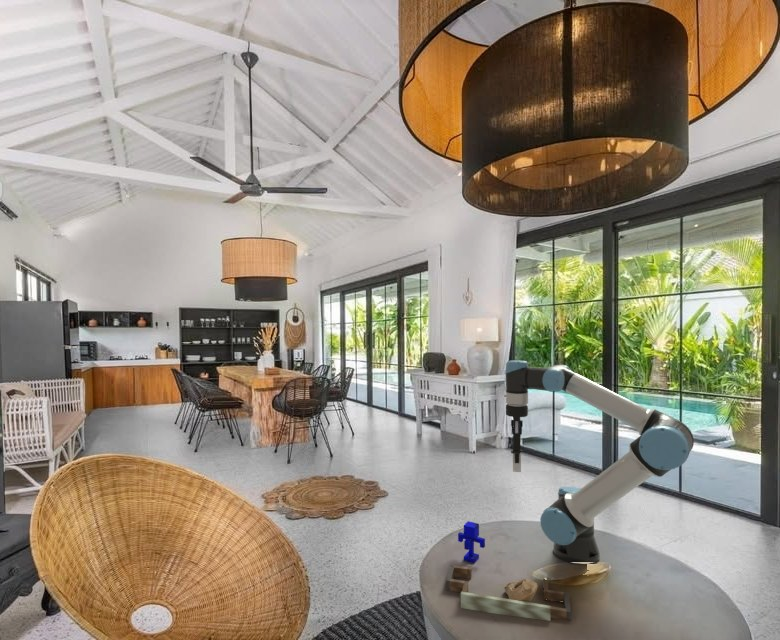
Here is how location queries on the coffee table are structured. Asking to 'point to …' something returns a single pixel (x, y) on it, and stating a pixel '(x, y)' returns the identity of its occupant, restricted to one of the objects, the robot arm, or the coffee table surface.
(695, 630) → the coffee table surface
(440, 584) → the coffee table surface
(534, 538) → the coffee table surface
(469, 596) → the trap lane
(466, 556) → the figurine
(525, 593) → the pottery oil lamp
